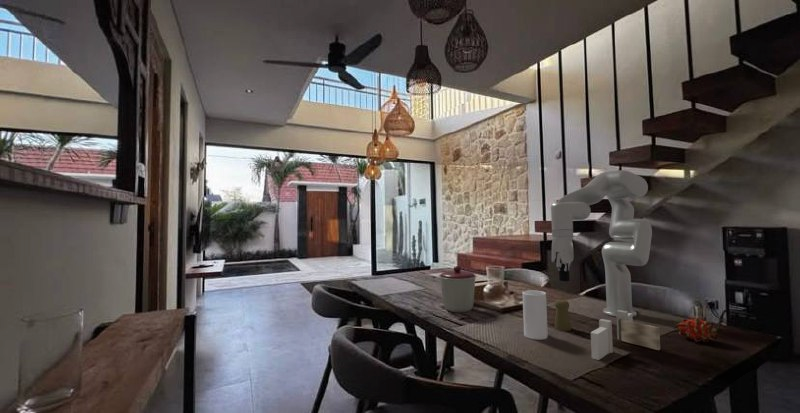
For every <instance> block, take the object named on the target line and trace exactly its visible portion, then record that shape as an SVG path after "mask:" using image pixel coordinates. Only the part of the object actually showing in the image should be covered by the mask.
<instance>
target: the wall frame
mask: <svg viewBox="0 0 800 413" xmlns="http://www.w3.org/2000/svg"><path fill="white" fill-rule="evenodd" d="M615 317H616V336H617V340H619V331H618V319H621V320H626V321H631V322H634V319H633V318H634V317H632V313H628V312H627V311H621V310H617V311H616V316H615ZM612 325H613V323H612V320H610V319H604V318H600V319H599V320H598V328H595V329H594V330H592V331H591V332H590V348H591V359H593V360H596V361H599V360H601V359H603V358H604V357H605V356H607V355H609V354H610V353H611V354H612V353H613V352H614V346H613V344H614V343H613V326H612ZM619 341H620V340H619Z"/></svg>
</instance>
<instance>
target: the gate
mask: <svg viewBox="0 0 800 413" xmlns="http://www.w3.org/2000/svg"><path fill="white" fill-rule="evenodd" d="M618 331H619V341H622V342H625V343H629V344H632V345H637V346H640V347H645V348H647V349H652V350H656V351H660V350H661V338H660V337H661V336H660V327H658V326H655V325H649V324H644V323H640V322H635V321H633V322H631V321H626V320H621V319H618Z"/></svg>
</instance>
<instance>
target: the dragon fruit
mask: <svg viewBox="0 0 800 413" xmlns="http://www.w3.org/2000/svg"><path fill="white" fill-rule="evenodd" d="M673 329H674V330H676V329H677V330H678V331H679V332H678V334H679V335H680V336H682V337H683V338H687V339H689V340H694V342H696V343H699V342H702V343H709V340H712V341H713V340H717V339H718V335H719V333H720V331H719V329H718V327H717V326H716V325H714V323H713V322H711V321H707V320H706V319H704V318H703V317H700V318H696V317H692V316H690V317H689V318H684V319H683V321H681V322H679V323H677V324H675V325H674V327H673Z"/></svg>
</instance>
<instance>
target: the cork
mask: <svg viewBox="0 0 800 413" xmlns="http://www.w3.org/2000/svg"><path fill="white" fill-rule="evenodd" d="M554 306H555V309H556V310H555V317H554V318H555V320H554V329H555V330H557V331H564V332H567V331H571V330H572V325H571V320H570V315H569V308H570V302H569V301H567V300H565V299H556V300H555V301H554Z"/></svg>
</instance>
